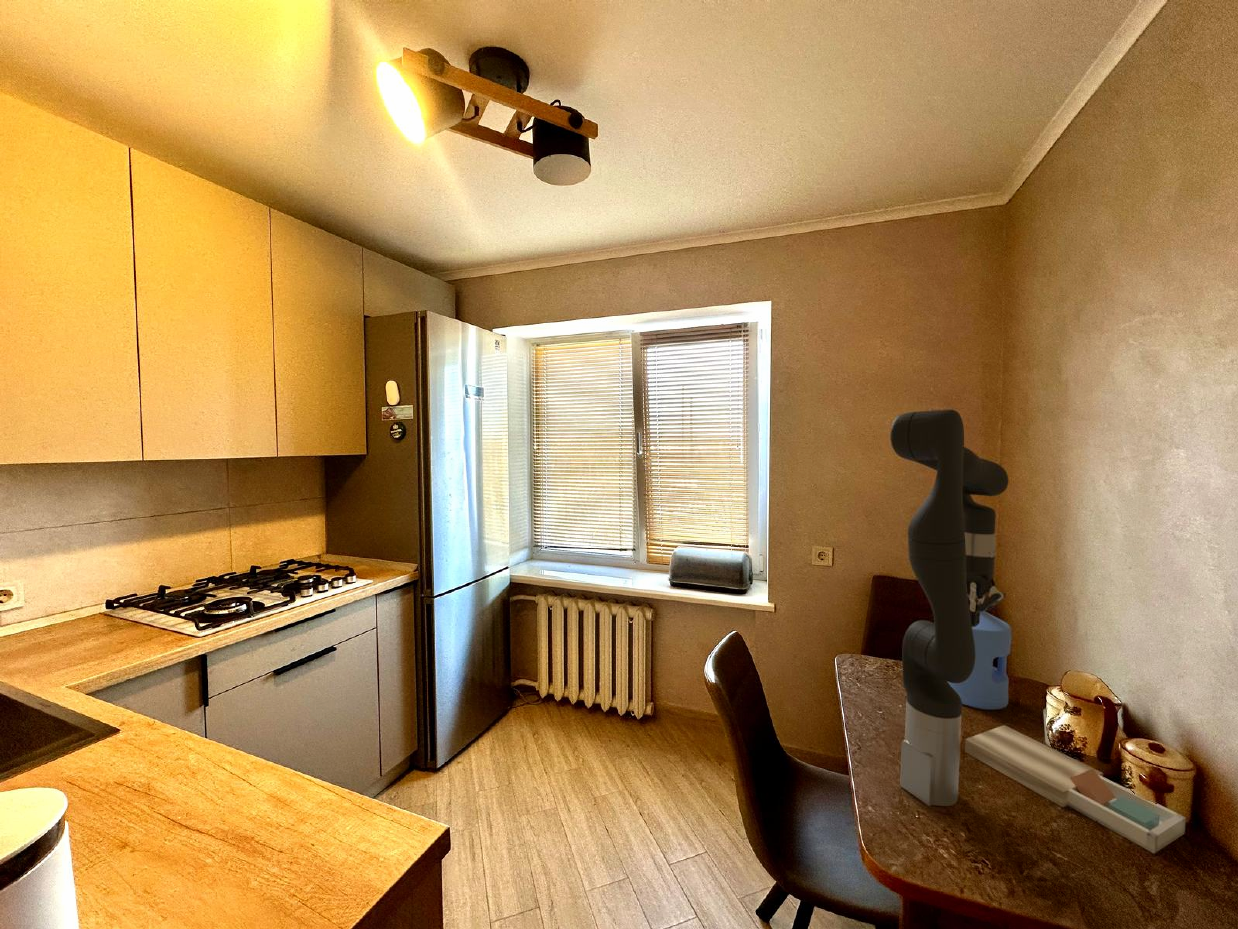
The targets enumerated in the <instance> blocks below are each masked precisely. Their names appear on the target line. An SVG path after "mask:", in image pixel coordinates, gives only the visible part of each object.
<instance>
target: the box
mask: <svg viewBox="0 0 1238 929" xmlns="http://www.w3.org/2000/svg"><path fill="white" fill-rule="evenodd" d="M1098 776H1099V777H1100V778H1101V779H1102V781H1103V782H1104V783H1105V785H1106V786H1107V787H1108V788H1109V790H1110V791H1111V792H1112V793H1113V795H1114V796H1115V797H1116V798H1114V799H1112V800H1110V801H1108V802H1106V803H1104V804H1102V805H1101V804H1099V803H1097V802H1095V801H1093V800H1091V799H1090V798H1088V797H1086V796H1084V795H1082V794H1080V793H1078V792H1076V791H1075V790H1073V789H1070V790H1068V802H1067V806H1068V807H1070V808H1071V809H1073V810H1075V811H1076V812H1079V813H1080V814H1082V815H1084V816H1085V817H1088V818H1089V819H1091V820H1093V821H1095V822H1096V821H1097V823H1098V824H1100V825H1102V826H1103V827H1105V828H1107V829H1109V830H1110V831H1112V832H1114V833H1116V834H1118V835H1120V836H1122V837H1123V838H1126V839H1127V840H1129V841H1130V842H1132V843H1134V844H1136V845H1138V846H1140V847H1142V848H1143V849H1144V850H1147V851H1149V852H1150V853H1152V854H1156V853H1157V852H1159V851H1160V850H1162V849H1164V848H1165V847H1167V846H1168V845H1169V844H1172V842H1174V841H1176V840H1178V839H1179V838H1180V837H1182V836H1183V835H1185V830H1186V820H1187V819H1186V817H1185V816H1184V815H1182V814H1179V813H1177V812H1175V811H1173V810H1172V809H1169V808H1167V807H1165V806H1163V805H1161V804H1159V803H1157V804H1155V803H1156V802H1155V803H1153V802H1154V801H1153V802H1150V801H1147V800H1145V799H1143V798H1141V797H1139V796H1137V795H1136V794H1134V793H1133V792H1134V791H1133V792H1132V790H1130V789H1128V788H1127V787H1125V786H1122V785H1120V784H1119V783H1117V782H1114V781H1112V780H1110V779H1108V778H1106V777H1104V776H1103V777H1102V776H1100V775H1098ZM1121 797H1125V798H1127V799H1129V800H1131V801H1133V802H1135V803H1137V804H1139V805H1141V806H1142V807H1144V808H1146V809H1148V810H1150V811H1152V812H1154V813H1156V814H1158V815H1160V820H1159V825H1158V826H1157V827H1155V828H1153V829H1152V830H1148V829H1146V828H1144V827H1142V826H1140V825H1139V824H1137V823H1135V822H1133V821H1131V820H1129V819H1127V818H1125V817H1123V816H1122V815H1120V814H1118V813H1116V812H1114V811H1112V810H1110V809H1108V806H1109V803H1111V802H1113V801H1115V800H1117V799H1119V798H1121Z"/></svg>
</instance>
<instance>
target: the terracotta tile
mask: <svg viewBox="0 0 1238 929" xmlns="http://www.w3.org/2000/svg"><path fill="white" fill-rule="evenodd" d="M1093 768H1094V767H1092V769H1089V770H1086V771H1083V772H1080V773H1078V774H1076V775H1074V776H1071V777H1069V778H1070V779H1071V781H1072V782H1073V783H1074V785H1075V786H1076V787H1077V789H1078V790H1079V791H1080V793H1081V794H1082V795H1084V796H1086V797H1088V798H1090V799H1091V800H1093V801H1095V802H1097V803H1099V804H1101V805H1102V804H1104V803H1106V802H1108V801H1110V800H1112V799H1114V798H1116V797H1115V796H1114V795H1113V793H1112V792H1111V791H1110V790H1109V788H1108V787H1107V786H1106V785H1105V783H1104V782H1103V781H1102V779H1101V778H1100V777H1099V776H1098V774H1097V773H1096V772H1095V770H1094V769H1095V768H1094V769H1093Z"/></svg>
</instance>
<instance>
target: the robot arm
mask: <svg viewBox="0 0 1238 929" xmlns="http://www.w3.org/2000/svg"><path fill="white" fill-rule="evenodd" d="M963 422H964V421H963V418H962V417H961V415H960V413H959V412H958V411H957V410H956V409H955V410H954V409H935V410H934V409H933V410H932V409H931V410H923V411H910V412H905V413H902V414H900V415H898V416H897V417H895V419H893V421H892V424H891V426H890V432H889V434H890V435H889V436H890V444H891V448H892V449H893V451H894V453H895V454H896V455H897V456H898V457H900V458H902V459H905V460H908V461H912V462H915V463H918V464H920V465H923V466H926V467H928V468H930V469H932V470H935V471H936V477H935V480H934V482H933V486H932V488H931V490H930V492H929V494H928V495H927V496H926V498H925V499H924V501H923V502H922V504H921V505H920V506H919V508H918V509H917V510H916V512H915V513H914V515H913V517H912V518H911V520H910V522H909V524H908V528H907V544H908V558H909V563H910V566H911V569H912V571H913V574H914V576H915V578H916V579H917V581H918V583H919V584H920V588H922V590H923V593H924V594H925V596H926V598H927V600H928V602H929V604H930V607H931V610H932V615H933V621H934V622H932V621H930V620H926V619H925V620H923V619H921V620H917V621H914V622H912V623H911V624H910V625H909V627H908V628H907V629H906V631H905V634H904V636H903V640H902V648H901V649H902V650H901V651H902V652H901V656H902V657H901V658H902V661H901V662H902V663H901V664H902V683H903V684H902V685H903V688H904V691H905V693H906V702H905V703H906V706H905V726H904V739H903V740H902V741H901V753H900V754H901V756H900V780H899V781H900V782H899V786H900V787H901V788H903V789H904V790H906V791H907V792H908V793H910V794H911V795H913V796H914V797H915V798H917V799H918V800H919V801H921V802H922V803H924V804H925V805H927V806H928V807H931V806H939V807H950V806H953V805H955V804H956V803H957V802H958V796H959V782H960V781H959V775H960V756H961V753H960V752H961V731H962V730H961V729H962V715H963V714H962V711H963V704H962V701H961V698H960V696H959V695H958V693H957V692H956V691H955V690H954V689H953V688H952V687H951V686H950V684H949V683H948V682H951V683H962V682H964V681H965V680H967V679H968V678H969V676H970V675H971V673H972V671H973V668H974V664H975V643H974V637H973V631H972V627H976V626H977V625H979V623H980V611H985V612H987V611H990V610H991V609H992V608H994V606H996V605H997V604H999V603H1000V602H1001V601H1002V600H1004V598H1006V596H1007V595H1006V593H1005V592H1003V591H1002V592H1001V591H1000V590H999V589H998V588H997V587H996V582H995V579H994V575H995V566H996V565H995V564H996V511H995V509H994V508H993V507H990V506H986V505H983V504H980V503H977V501H975V500H974V499H973V498H972V495H974V496H985V497H986V496H987V497H995V496H999V495H1001V494H1003V493H1004V492H1005V491H1006V489H1007V488H1008V486H1009V476H1008V473H1007V471H1006V470H1005V468H1004V467H1003V466H1002V465H1000V464H999V463H996V462H994V461H991V460H988V459H984V458H983V457H982V458H981V457H980V456H978V455H977V454H976V453H975V452H974V451H973V450H971V449H969V448H967V447H966V446H965V430H964V429H965V428H964V423H963ZM987 594H988V598H987V599H986V600H985V598H986V596H987ZM947 681H948V682H947Z"/></svg>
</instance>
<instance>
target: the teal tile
mask: <svg viewBox="0 0 1238 929" xmlns="http://www.w3.org/2000/svg"><path fill="white" fill-rule="evenodd" d="M1108 809H1110V810H1112V811H1114V812H1116V813H1118V814H1120V815H1122V816H1123V817H1125V818H1127V819H1129V820H1131V821H1133V822H1135V823H1137V824H1139V825H1140V826H1142V827H1144V828H1146V829H1148V830H1152V829H1153V828H1155V827H1157V826H1158V825H1159V820H1160V815H1158V814H1156V813H1154V812H1152V811H1150V810H1148V809H1146V808H1144V807H1142V806H1141V805H1139V804H1137V803H1135V802H1133V801H1131V800H1129V799H1127V798H1125V797H1121V798H1119V799H1117V800H1115V801H1113V802H1111V803H1109V806H1108Z"/></svg>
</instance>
